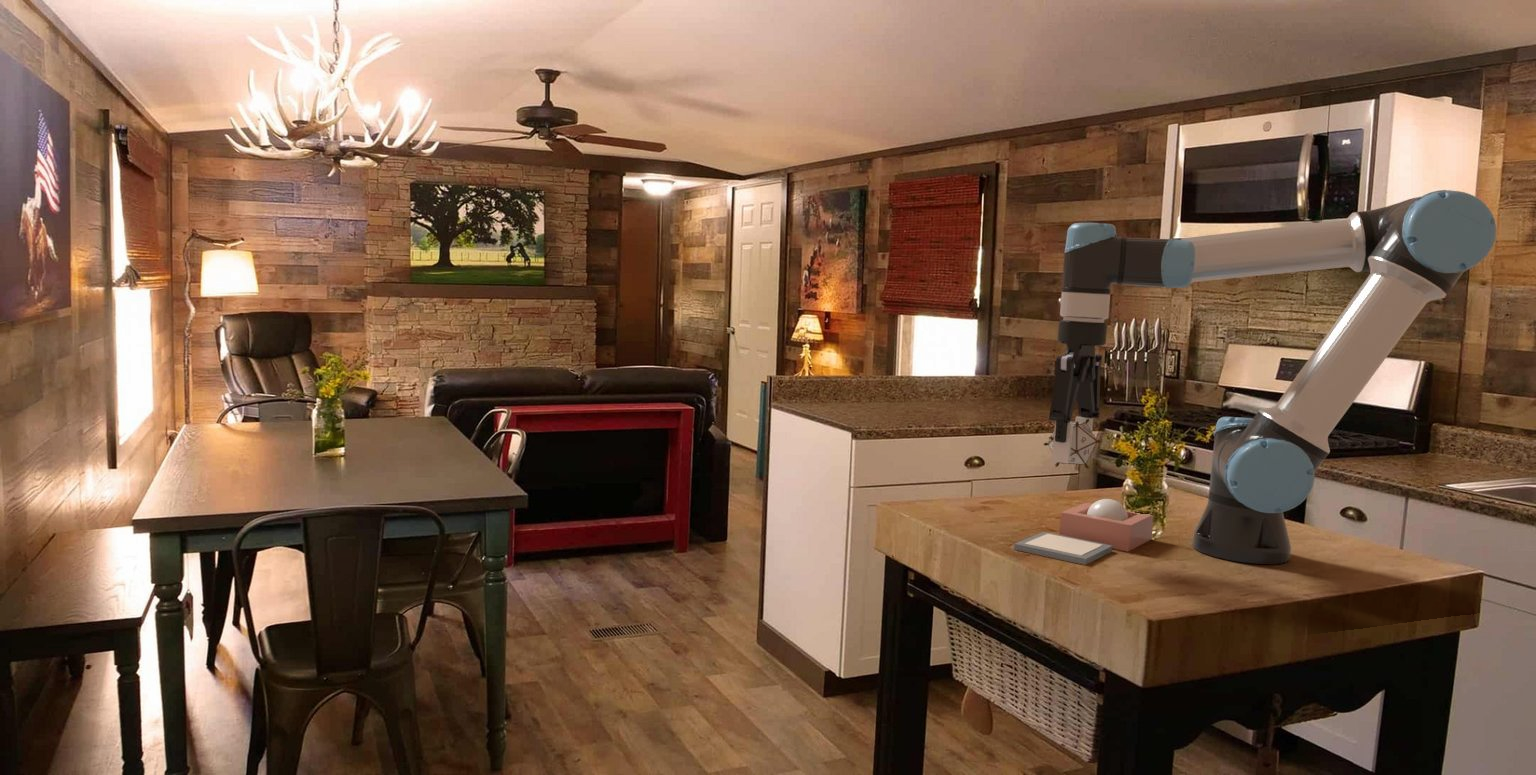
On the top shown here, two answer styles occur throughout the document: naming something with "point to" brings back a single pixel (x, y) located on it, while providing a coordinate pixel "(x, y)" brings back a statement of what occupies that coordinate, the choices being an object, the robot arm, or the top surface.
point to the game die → (1079, 444)
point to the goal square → (1063, 548)
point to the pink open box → (1107, 528)
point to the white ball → (1108, 510)
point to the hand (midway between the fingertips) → (1071, 458)
